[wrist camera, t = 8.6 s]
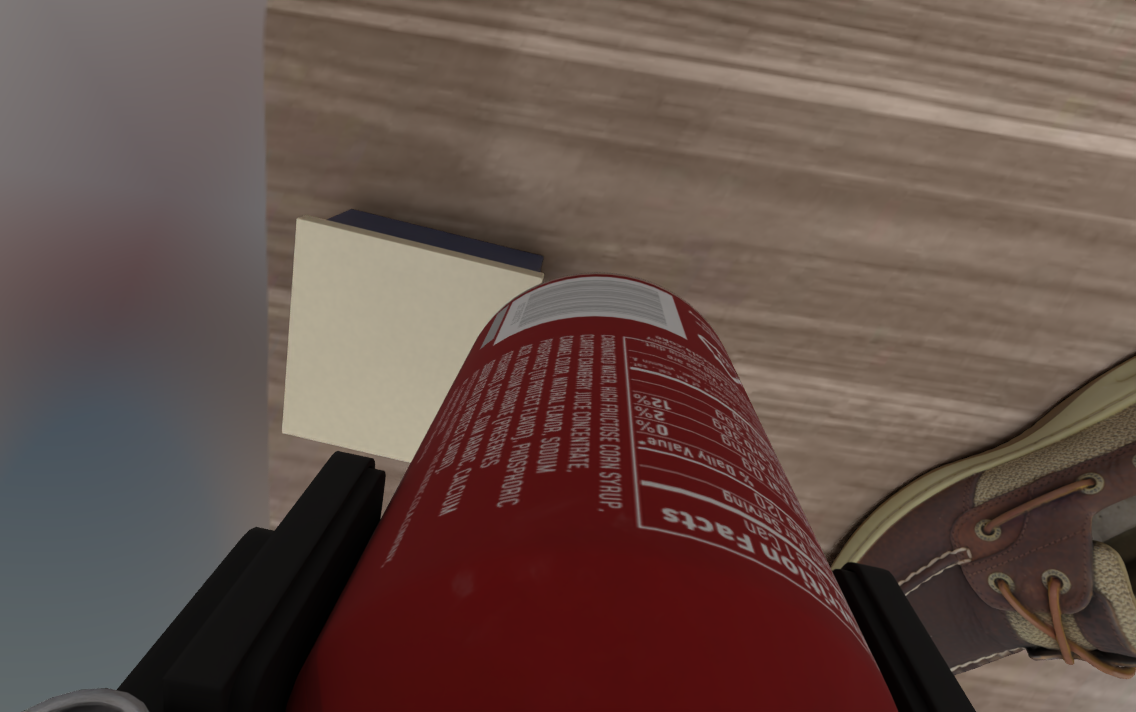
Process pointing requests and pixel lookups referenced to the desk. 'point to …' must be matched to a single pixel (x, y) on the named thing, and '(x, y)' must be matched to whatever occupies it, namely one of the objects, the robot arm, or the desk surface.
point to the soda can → (593, 536)
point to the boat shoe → (1024, 539)
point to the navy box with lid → (386, 325)
